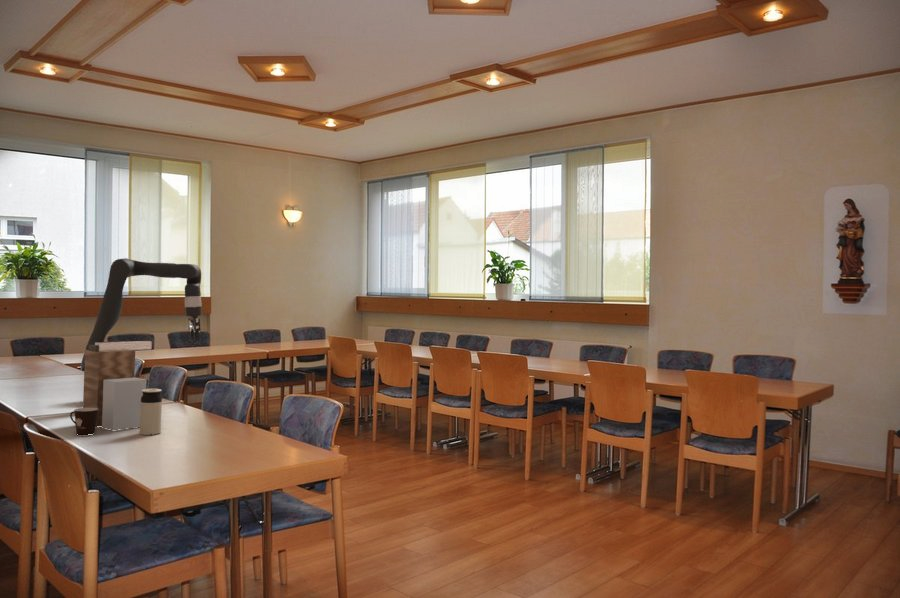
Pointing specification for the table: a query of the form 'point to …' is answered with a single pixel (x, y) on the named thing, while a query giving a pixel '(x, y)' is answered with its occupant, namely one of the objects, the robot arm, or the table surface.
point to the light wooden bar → (124, 345)
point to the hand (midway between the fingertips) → (195, 339)
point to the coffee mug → (85, 420)
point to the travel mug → (150, 411)
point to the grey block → (122, 402)
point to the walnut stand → (104, 374)
